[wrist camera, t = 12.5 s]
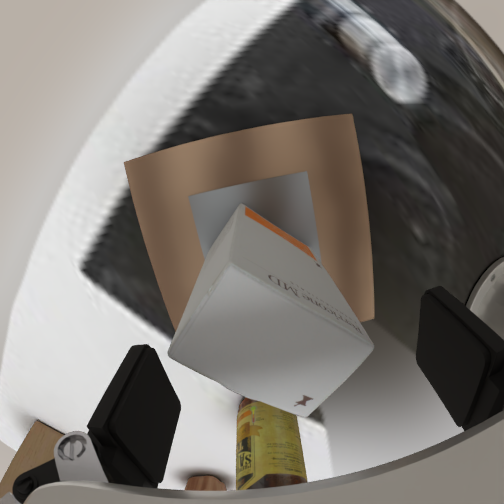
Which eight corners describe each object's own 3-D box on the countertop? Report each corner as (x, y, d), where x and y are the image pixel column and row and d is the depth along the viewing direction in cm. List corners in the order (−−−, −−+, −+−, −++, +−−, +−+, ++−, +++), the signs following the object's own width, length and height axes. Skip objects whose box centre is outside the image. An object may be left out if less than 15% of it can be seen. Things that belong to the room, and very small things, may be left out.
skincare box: (313, 246, 21) (382, 349, 9) (278, 294, 22) (306, 423, 10) (239, 198, 19) (228, 259, 8) (205, 250, 20) (162, 361, 9)
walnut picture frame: (339, 118, 21) (353, 113, 18) (362, 302, 26) (375, 319, 23) (138, 161, 21) (122, 162, 18) (190, 336, 26) (184, 357, 23)
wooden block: (43, 444, 35) (6, 520, 16) (35, 416, 32) (-13, 503, 13) (90, 468, 36) (61, 551, 17) (87, 444, 33) (49, 542, 14)
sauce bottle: (236, 387, 28) (232, 572, 10) (296, 385, 29) (330, 565, 10) (238, 424, 30) (236, 580, 12) (291, 423, 31) (313, 575, 12)
